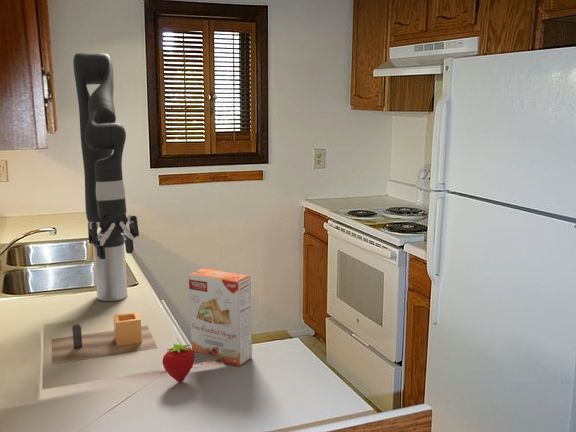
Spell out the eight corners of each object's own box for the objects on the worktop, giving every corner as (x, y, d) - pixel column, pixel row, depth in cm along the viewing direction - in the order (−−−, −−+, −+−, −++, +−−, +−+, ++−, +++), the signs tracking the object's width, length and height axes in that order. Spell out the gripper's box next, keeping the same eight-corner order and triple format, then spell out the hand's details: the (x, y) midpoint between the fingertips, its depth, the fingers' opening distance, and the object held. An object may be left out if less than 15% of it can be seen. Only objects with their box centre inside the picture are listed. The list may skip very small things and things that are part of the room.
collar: (114, 337, 152) (113, 315, 151) (138, 333, 154) (137, 311, 153) (117, 346, 147) (115, 323, 145) (141, 342, 149) (140, 319, 148)
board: (52, 344, 152) (49, 316, 150) (147, 330, 160) (146, 304, 159) (52, 370, 137) (50, 339, 135) (157, 353, 146) (156, 324, 144)
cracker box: (190, 356, 144) (187, 273, 140) (205, 347, 149) (202, 267, 145) (239, 367, 137) (237, 281, 134) (253, 358, 143) (251, 274, 139)
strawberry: (157, 383, 130) (155, 340, 128) (185, 372, 135) (183, 330, 134) (173, 392, 126) (171, 348, 124) (201, 380, 131) (200, 337, 130)
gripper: (125, 194, 169) (130, 250, 171) (79, 200, 158) (85, 259, 160) (141, 195, 164) (145, 252, 166) (94, 201, 153) (100, 262, 156)
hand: (116, 256), depth 163 cm, fingers open, 8 cm apart
